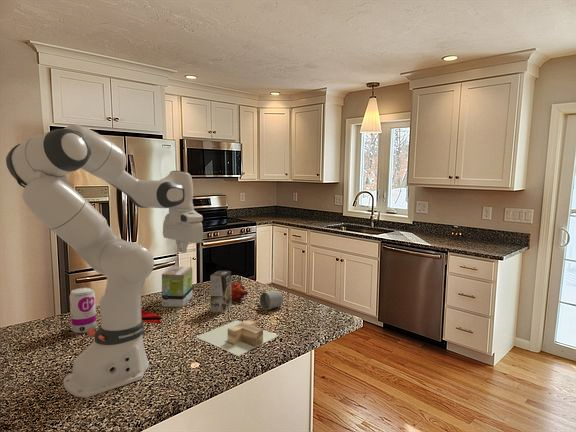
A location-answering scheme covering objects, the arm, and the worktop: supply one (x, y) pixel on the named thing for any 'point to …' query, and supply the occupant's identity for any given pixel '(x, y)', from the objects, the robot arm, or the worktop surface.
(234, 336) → the maple T block
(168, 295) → the tea box
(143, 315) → the cloth
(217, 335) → the sage board
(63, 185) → the robot arm
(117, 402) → the worktop surface
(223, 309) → the coffee box
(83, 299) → the supplement can
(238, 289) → the dragon fruit
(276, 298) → the ceramic mug
